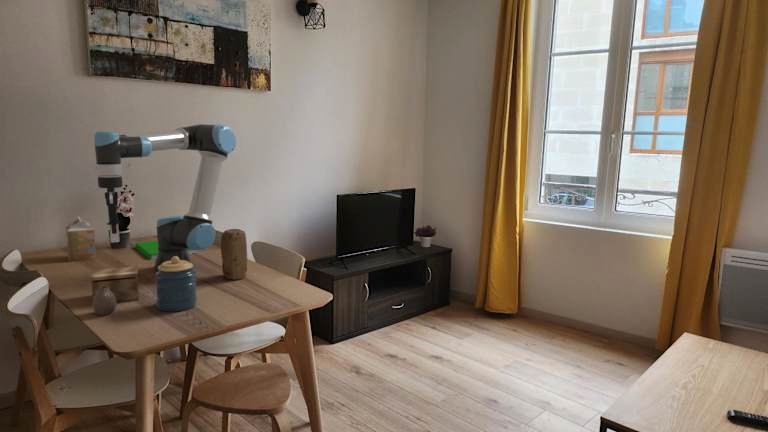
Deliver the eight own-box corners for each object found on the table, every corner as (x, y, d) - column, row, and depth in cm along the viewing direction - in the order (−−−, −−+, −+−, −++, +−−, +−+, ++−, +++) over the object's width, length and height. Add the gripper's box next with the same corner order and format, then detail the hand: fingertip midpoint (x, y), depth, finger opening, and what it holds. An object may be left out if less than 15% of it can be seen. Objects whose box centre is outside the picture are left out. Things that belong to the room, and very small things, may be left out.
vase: (100, 318, 161) (98, 292, 160) (88, 314, 165) (86, 288, 163) (121, 312, 167) (119, 287, 166) (109, 308, 171) (108, 283, 169)
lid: (137, 268, 188) (137, 265, 188) (137, 276, 178) (137, 273, 177) (93, 272, 182) (93, 269, 182) (90, 280, 171) (90, 277, 171)
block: (249, 278, 209) (248, 230, 206) (233, 281, 204) (232, 233, 200) (235, 272, 216) (234, 227, 213) (219, 276, 211) (217, 229, 207)
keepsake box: (138, 290, 190) (137, 269, 188) (138, 300, 179) (137, 278, 178) (95, 294, 184) (94, 273, 182) (93, 305, 173) (91, 282, 172)
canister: (156, 314, 166) (154, 262, 163) (156, 301, 178) (154, 253, 175) (198, 309, 171) (196, 259, 168) (196, 298, 183) (194, 250, 180)
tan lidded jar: (96, 259, 231) (93, 218, 228) (69, 262, 226) (66, 220, 222) (94, 254, 240) (91, 215, 237) (68, 257, 234) (64, 216, 231)
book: (181, 243, 269) (180, 238, 268) (198, 254, 247) (198, 248, 247) (135, 248, 255) (135, 243, 255) (149, 260, 233) (149, 254, 233)
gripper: (98, 174, 180) (103, 238, 184) (96, 178, 168) (102, 246, 173) (121, 173, 183) (126, 237, 188) (121, 177, 172) (127, 244, 176)
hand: (115, 241), depth 180 cm, fingers closed
